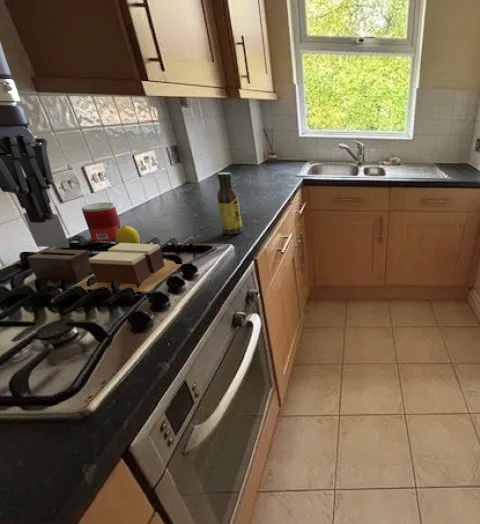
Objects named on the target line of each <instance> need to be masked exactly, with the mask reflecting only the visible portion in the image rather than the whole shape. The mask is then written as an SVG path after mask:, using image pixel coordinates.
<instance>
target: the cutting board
mask: <svg viewBox="0 0 480 524" xmlns="http://www.w3.org/2000/svg"><path fill="white" fill-rule="evenodd" d="M174 261H175V260H164V264H165V266H164V267H162V268H161V269H160V270H158V271H157V272H155V273H150V275H151V276H150V277H148V278H147V279H146V280H144V281H143V282H142V283H141V285H140V286H139V287H138V288H137V285H136V284H121V283H120V286H119V289H123V288H126V287H131V288H133V289H134V291H133V292H141V293H142V292H143V293H149V291H151V290H152V289H153V288H155V287H156V286H157V285H158V284H160V283H161V282H163V281H164V280H165V279H166V278H168V277H169V276H170V275H171V274H173V273H174V272H175V271H177V270H178V269H179V268H180V267H182V266H183V265H184V264H185V263H187V261H182V264H183V265H182V264H176V263H175V262H174ZM92 276H94V273H92V275H91V274H90V276H87V277H86V278H84V279H81V281H79V282H77V283H76V284H73V285H71V287H74V286H81V287H82V288H83V289H82V290H95V288H97V287H100V286H106V287H108V288H110V289H111V283H100V282H96V283H95V284H94V285H91V286H90V287H89V286H87V281H88V279H89V278H90V277H92ZM71 287H69V289H72V288H71Z"/></svg>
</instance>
